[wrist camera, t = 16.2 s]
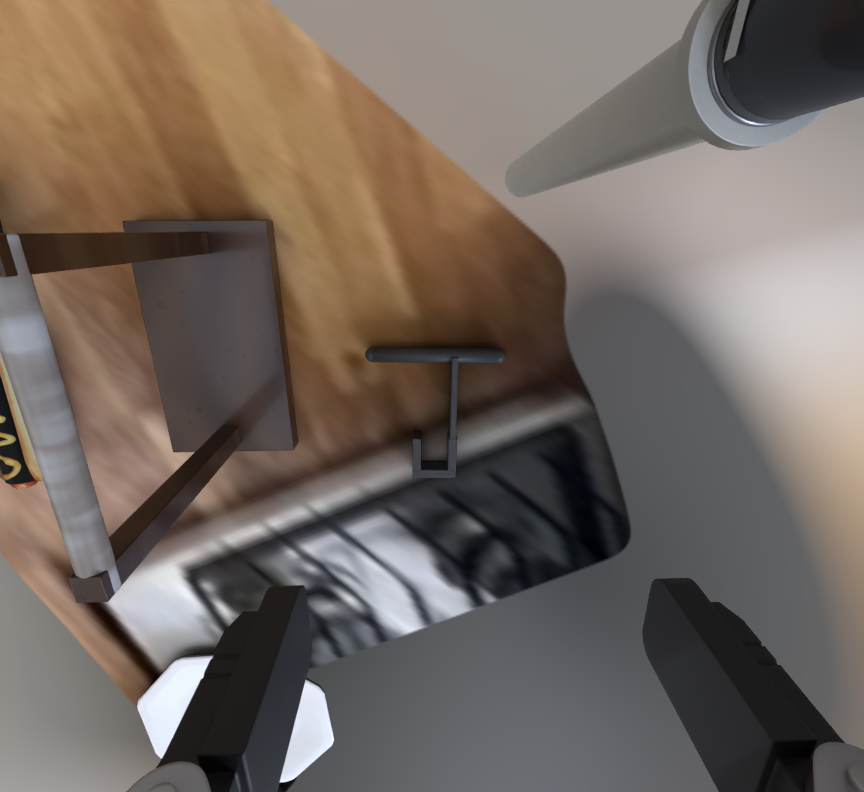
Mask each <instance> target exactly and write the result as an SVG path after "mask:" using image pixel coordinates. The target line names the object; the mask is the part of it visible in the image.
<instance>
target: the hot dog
mask: <svg viewBox="0 0 864 792" xmlns="http://www.w3.org/2000/svg"><path fill="white" fill-rule="evenodd" d="M0 478H1V479H3V480H5V482H6V483H8V484H10V485H11V486H12V487H14V488H17V489H21V488H28V487H30V486H32V485H35V484H36V483H37V482H38V481H44V480H43V477H42V474H41V471H40V468H39V465H38V462H37V459H36V456H35V453H34V450H33V447H32V444H31V441H30V438H29V436H28V433H27V430H26V427H25V424H24V421H23V418H22V415H21V412H20V409H19V406H18V403H17V400H16V397H15V394H14V391H13V388H12V385H11V382H10V379H9V376H8V373H7V370H6V367H5V364H4V361H3V358H2V355H1V352H0Z"/></svg>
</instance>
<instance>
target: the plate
mask: <svg viewBox="0 0 864 792" xmlns="http://www.w3.org/2000/svg"><path fill="white" fill-rule="evenodd" d="M212 658H213V654H204V655H190V656H182V657H180V658H178V659H175V660H174V661H173V662H172V663H171V665H170V666H169V667H168V668H167V669H166V670H165V671H164V672H163V673H162V675H161V676H160V677H159V678H158V679H157V680H156V681H155V682H154V683H153V684H152V686H151V687H150V688H149V689H148V690H147V691H146V692H145V693H144V694H143V696H142V697H141V698H140V699H139V700H138V705H137V708H138V711H139V713H140V715H141V718H142V721H143V723H144V725H145V728H146V730H147V733H148V735H149V738H150V740H151V743H152V745H153V747H154V750H155V752H156V754H157V755H158V756H159V757H160V758H161V759H162V758H163V756H164V754H165V752H166V750H167V748H168V746H169V744H170V742H171V740H172V738H173V736H174V734H175V731H176V729H177V727H178V725H179V723H180V721H181V719H182V717H183V715H184V713H185V711H186V709H187V707H188V705H189V703H190V701H191V699H192V697H193V695H194V693H195V690H196V688H197V686H198V684H199V682H200V680H201V679H203V677H204V672H205V670H206V668H207V666H208V664H209V662H210V660H211V659H212ZM333 741H334V734H333V729H332V724H331V720H330V715H329V711H328V706H327V700H326V696H325V691H324V690H323V689H322V688H321V686H320V685H319V684H317V683H315V682H313V681H312V680H309V679H308V678H306V680H305V684H304V688H303V692H302V696H301V700H300V704H299V708H298V712H297V716H296V720H295V723H294V727H293V731H292V735H291V739H290V743H289V747H288V751H287V755H286V759H285V763H284V767H283V771H282V775H281V778H280V782H287V781H290V780H293V779H294V778H295V777H297V776H298V775H299V774H300V773H301V772H302V771H303V770H304V769H306V768H307V767H308V766H309V765H310V764H311V763H312V762H313V761H315V760H316V759H317V758H318V757H319V756H320V755H322V753H324V752H325V751H326V750H327V749H328V748H329V747H331V746H332V744H333Z"/></svg>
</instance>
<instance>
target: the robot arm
mask: <svg viewBox="0 0 864 792" xmlns="http://www.w3.org/2000/svg"><path fill="white" fill-rule="evenodd" d="M707 76H708V82H709V87H710V90H711V93H712V96H713V98H714V100H715V102H716V103H717V105H718V107H719V108H720V109H721V111H722V112H723V113H724V114H725V115H726V116H728V117H729V118H730V119H732V120H733V121H735V122H737V123H739V124H742V125H745V126H750V127H766V126H772V125H775V124H779V123H782V122H785V121H788V120H790V119H792V118H794V117H797V116H800V115H804V114H807V113H810V112H814V111H818V110H821V109H824V108H828V107H831V106H834V105H838V104H841V103H844V102H848V101H851V100H854V99H858V98H861V97H864V0H731V2H730V3H729V4H728V6H727V7H726V9H725V10H724V12H723V13H722V15H721V17H720V19H719V21H718V23H717V25H716V27H715V30H714V32H713V35H712V38H711V42H710V46H709V51H708V58H707ZM642 634H643V643H644V647H645V651H646V654H647V656H648V659H649V661H650V663H651V665H652V667H653V669H654V670H655V672H656V674H657V676H658V678H659V680H660V682H661V683H662V685H663V687H664V689H665V691H666V693H667V695H668V697H669V699H670V700H671V702H672V704H673V706H674V708H675V710H676V712H677V714H678V715H679V717H680V719H681V721H682V723H683V725H684V727H685V728H686V731H687V732H688V734H689V736H690V738H691V740H692V742H693V744H694V745H695V748H696V749H697V751H698V753H699V755H700V757H701V759H702V761H703V763H704V765H705V766H706V768H707V770H708V772H709V774H710V776H711V778H712V780H713V782H714V783H715V785H716V787H717V789H718V791H719V792H864V750H863V749H860V748H858V747H855V746H852V745H849V744H846V743H845V742H844V741H843V740H842V739H841V738H840V737H839V736H838V735H837V733H836V732H835V731H834V730H833V728H832V727H831V726H830V725H829V724H828V723H827V721H826V720H825V719H824V718H823V716H822V715H821V714H820V713H819V712H818V710H817V709H816V708H815V707H814V705H813V704H812V703H811V702H810V701H809V700H808V698H807V697H806V696H805V695H804V693H803V692H802V691H801V690H800V688H799V687H798V686H797V685H796V684H795V682H794V681H793V680H792V679H791V678H790V676H789V675H788V674H787V673H786V672H785V670H784V669H783V668H782V667H781V666H780V665H777V663H776V659H775V658H774V657H773V656H772V655H771V653H770V652H769V651H768V650H767V649H766V647H765V646H764V647H763V646H762V645H761V641H760V640H759V639H758V638H757V636H756V635H755V634H754V633H753V632H752V630H751V629H750V628H749V627H748V626H747V625H746V623H745V622H744V621H743V620H742V619H741V618H739V617H738V616H737V615H735V614H734V613H733V612H731V611H730V610H729V609H727V608H726V607H725V606H723V605H722V604H721V603H719V602H710V601H709V600H708V598H707V597H706V595H705V594H704V593H703V592H702V590H701V589H700V588H699V587H698V585H697V584H696V583H695V582H694V581H693V580H691V579H690V578H670V579H655V580H654V581H653V582H652V584H651V589H650V594H649V599H648V604H647V609H646V614H645V620H644V624H643V633H642ZM311 647H312V637H311V628H310V620H309V612H308V604H307V596H306V590H305V587H304V586H303V585H300V586H271V587H269V588H268V590H267V592H266V594H265V596H264V599H263V601H262V603H261V606H260V608H259V610H258V611H256V612H243V613H242V614H241V615H240V616H239V617H238V618H237V619H236V620H235V621H234V622H233V623H232V624H231V625H230V626H229V627H228V628H227V629H226V630H225V631H224V633H223V635H222V637H221V639H220V641H219V643H218V645H217V647H216V649H215V651H214V654H213V658H212V659H211V660H210V662H209V664H208V666H207V668H206V670H205V672H204V677H203V679H201V680H200V682H199V684H198V686H197V688H196V690H195V693H194V695H193V697H192V699H191V701H190V703H189V705H188V707H187V709H186V711H185V713H184V715H183V717H182V719H181V721H180V723H179V725H178V727H177V729H176V731H175V734H174V736H173V738H172V740H171V742H170V744H169V746H168V748H167V750H166V752H165V754H164V756H163V758H162V759H161V762H160V763H159V765H158V766H157V767H156V769H155V770H152V771H151V772H149V773H148V774H146V775H145V776H143V777H142V778H141V779H139V780H138V781H137V782H136V783H135V784H134V785H133V786H132V787H131V788H130V789H129V790H128V791H127V792H277V790H278V786H279V782H280V778H281V775H282V771H283V767H284V763H285V759H286V755H287V751H288V747H289V743H290V739H291V735H292V731H293V727H294V723H295V720H296V716H297V712H298V708H299V704H300V700H301V696H302V692H303V688H304V684H305V680H306V676H307V672H308V668H309V664H310V658H311Z"/></svg>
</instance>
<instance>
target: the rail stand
mask: <svg viewBox="0 0 864 792" xmlns="http://www.w3.org/2000/svg"><path fill="white" fill-rule="evenodd" d="M123 226H124V231H125V232H110V233H2V234H0V352H1V355H2V358H3V361H4V364H5V367H6V370H7V373H8V376H9V379H10V382H11V385H12V388H13V391H14V394H15V397H16V400H17V403H18V406H19V409H20V412H21V415H22V418H23V421H24V424H25V427H26V430H27V433H28V436H29V438H30V441H31V444H32V447H33V450H34V453H35V456H36V459H37V462H38V465H39V468H40V471H41V474H42V477H43V480H44V483H45V486H46V489H47V492H48V495H49V498H50V501H51V504H52V507H53V510H54V513H55V516H56V519H57V522H58V525H59V528H60V531H61V534H62V537H63V540H64V543H65V546H66V549H67V552H68V555H69V558H70V561H71V564H72V567H73V570H74V573H73V574H72V575H71V576H70V577H69V578H68V579H69V582H70V585H71V588H72V590H73V593H74V596H75V599H76V602H77V603H81V602H108V601H109V600H110V599H111V598H112V596H113V595H114V594H115V593H116V592H117V591H118V590H119V589H120V587H121V586H122V584H123V583H124V582H125V581H126V580H127V578H128V577H129V576H130V575H131V574H132V573H133V571H134V570H135V569H136V568H137V567H138V565H139V564H140V563H141V562H142V561H143V559H144V558H145V557H146V556H147V555H148V553H149V552H150V551H151V550H152V549H153V547H154V546H155V545H156V544H157V543H158V541H159V540H160V539H161V538H162V537H163V536H164V534H165V533H166V532H167V531H168V530H169V528H170V527H171V526H172V525H173V524H174V522H175V521H176V520H177V519H178V518H179V516H180V515H181V514H182V513H183V512H184V510H185V509H186V508H187V507H188V506H189V504H190V503H191V502H192V501H193V500H194V499H195V497H196V496H197V495H198V494H199V493H200V491H201V490H202V489H203V488H204V487H205V485H206V484H207V483H208V482H209V481H210V479H211V478H212V477H213V476H214V475H215V473H216V472H217V471H218V470H219V469H220V467H221V466H222V465H223V464H224V463H225V462H226V460H227V459H228V458H229V457H230V456H231V454H232V453H233V452H234V451H276V450H294V449H295V447H296V445H297V444H298V437H297V429H296V420H295V411H294V403H293V394H292V385H291V377H290V368H289V360H288V351H287V342H286V334H285V325H284V316H283V308H282V299H281V291H280V282H279V273H278V265H277V256H276V248H275V239H274V230H273V222H272V220H172V221H123ZM126 263H132V267H133V272H134V276H135V281H136V286H137V290H138V295H139V299H140V304H141V308H142V313H143V317H144V322H145V326H146V331H147V336H148V340H149V345H150V349H151V354H152V358H153V363H154V367H155V372H156V376H157V381H158V386H159V390H160V395H161V399H162V404H163V408H164V413H165V417H166V422H167V426H168V431H169V436H170V440H171V445H172V449H173V452H195V453H194V454H193V455H192V456H191V457H190V458H189V459H188V460H187V461H186V462H185V463H184V464H183V465H182V466H181V467H180V468H179V469H178V470H177V471H176V472H175V473H174V474H173V475H172V476H171V477H169V478H168V479H167V480H166V481H165V482H164V483H163V484H162V485H161V486H160V487H159V488H158V489H157V490H156V491H155V492H154V493H153V494H152V495H151V496H150V497H149V498H148V499H147V500H146V501H145V502H144V503H143V504H142V505H141V506H140V507H139V508H138V509H137V510H136V511H135V512H134V513H133V514H132V515H131V516H130V517H129V518H128V519H127V520H126V521H125V522H124V523H123V524H122V525H121V526H120V527H119V528H118V529H117V530H116V531H115V532H114V533H113V534H112V535H111V536H110V537H109V536H108V533H107V530H106V526H105V523H104V519H103V516H102V513H101V509H100V506H99V502H98V499H97V495H96V492H95V489H94V485H93V482H92V478H91V475H90V472H89V468H88V465H87V461H86V458H85V455H84V451H83V448H82V444H81V441H80V438H79V434H78V431H77V427H76V424H75V421H74V417H73V414H72V410H71V407H70V404H69V400H68V397H67V393H66V390H65V387H64V383H63V380H62V376H61V373H60V370H59V366H58V363H57V359H56V356H55V352H54V349H53V346H52V342H51V339H50V335H49V332H48V329H47V325H46V322H45V318H44V315H43V312H42V308H41V305H40V301H39V298H38V295H37V291H36V288H35V284H34V281H33V278H32V274H40V273H48V272H57V271H66V270H74V269H83V268H92V267H100V266H109V265H118V264H126Z"/></svg>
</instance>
